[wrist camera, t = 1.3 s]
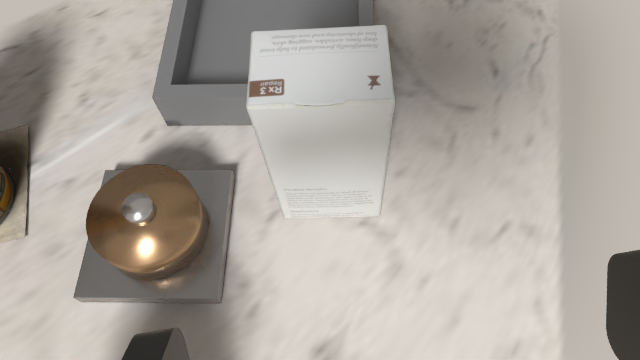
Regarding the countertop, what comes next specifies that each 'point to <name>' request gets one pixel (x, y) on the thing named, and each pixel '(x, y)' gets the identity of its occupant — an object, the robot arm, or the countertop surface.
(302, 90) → the skincare box
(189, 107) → the tray
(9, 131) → the condiment
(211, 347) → the countertop surface
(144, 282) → the service bell
